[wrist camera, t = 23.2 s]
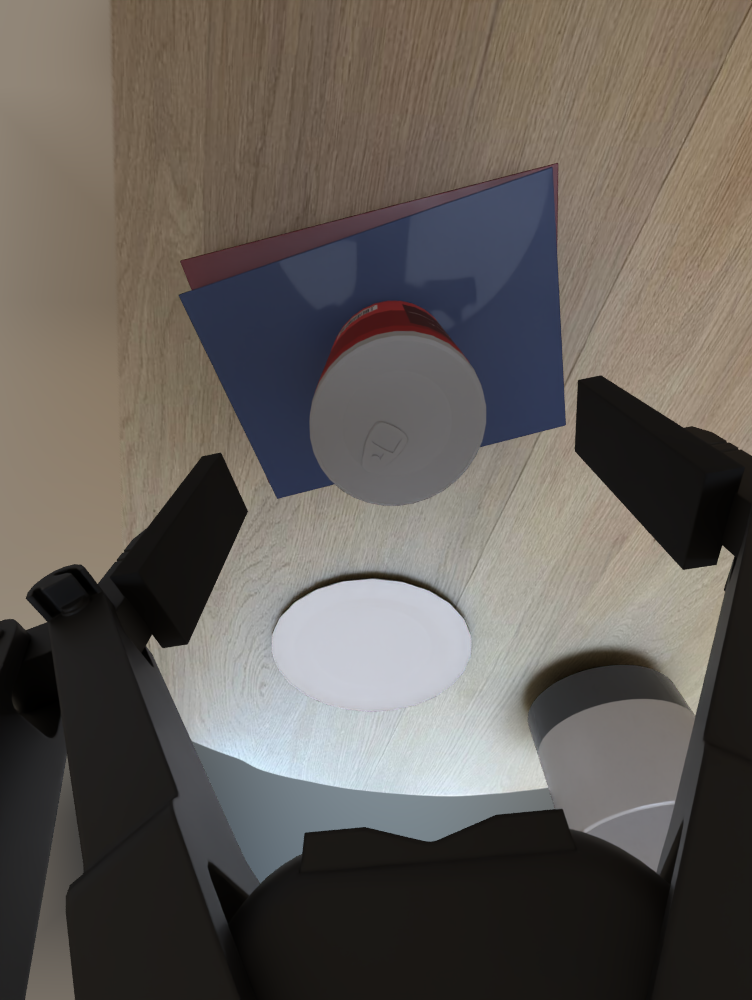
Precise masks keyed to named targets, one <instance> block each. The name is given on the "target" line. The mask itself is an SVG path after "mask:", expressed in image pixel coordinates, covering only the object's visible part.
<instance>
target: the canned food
mask: <svg viewBox="0 0 752 1000" xmlns="http://www.w3.org/2000/svg"><path fill="white" fill-rule="evenodd" d="M309 422H310V439H311V444H312V448H313V452H314V455H315V457H316V459H317V461H318V463H319V465H320V467H321V469H322V470H323V471H324V473H325V474H326V475H327V477H328V478H329V479H330V480H331V481H332V482H333V483H334V484H335V485H336V486H337V487H339V488H340V489H341V490H342V491H344V492H346V493H347V494H349V495H351V496H352V497H354V498H357V499H359V500H362V501H365V502H367V503H372V504H378V505H383V506H400V505H406V504H412V503H416V502H419V501H422V500H425V499H428V498H430V497H432V496H434V495H436V494H438V493H440V492H442V491H444V490H445V489H446V488H447V487H449V486H450V485H451V484H453V483H454V482H455V481H456V480H457V479H458V478H459V477H460V476H461V475H462V474H463V473H464V472H465V471H466V470H467V469H468V467H469V466H470V464H471V462H472V461H473V459H474V458H475V456H476V455H477V452H478V450H479V447H480V445H481V443H482V440H483V436H484V431H485V426H486V403H485V399H484V394H483V389H482V387H481V383H480V381H479V379H478V377H477V375H476V373H475V370H474V368H473V367H472V366H471V365H470V363H469V361H468V360H467V358H466V357H465V356H464V355H463V353H462V352H461V351H460V349H459V348H458V347H457V346H456V344H455V343H454V342H453V341H452V339H451V338H450V337H449V335H448V334H447V333H446V332H445V330H444V329H443V328H442V327H441V325H440V324H439V323H438V322H437V320H436V319H435V318H434V317H433V316H432V315H431V314H429V313H428V312H427V311H426V310H425V309H423V308H421V307H419V306H417V305H415V304H412V303H408V302H403V301H384V302H380V303H375V304H373V305H371V306H368V307H366V308H364V309H362V310H361V311H359V312H358V313H357V314H355V315H354V316H352V318H351V319H350V320H349V321H348V322H347V323H346V324H345V325H344V326H343V328H342V329H341V331H340V332H339V334H338V336H337V337H336V340H335V342H334V345H333V347H332V350H331V352H330V355H329V357H328V360H327V362H326V365H325V367H324V370H323V372H322V375H321V377H320V380H319V382H318V385H317V388H316V390H315V394H314V397H313V400H312V405H311V411H310V421H309Z"/></svg>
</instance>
